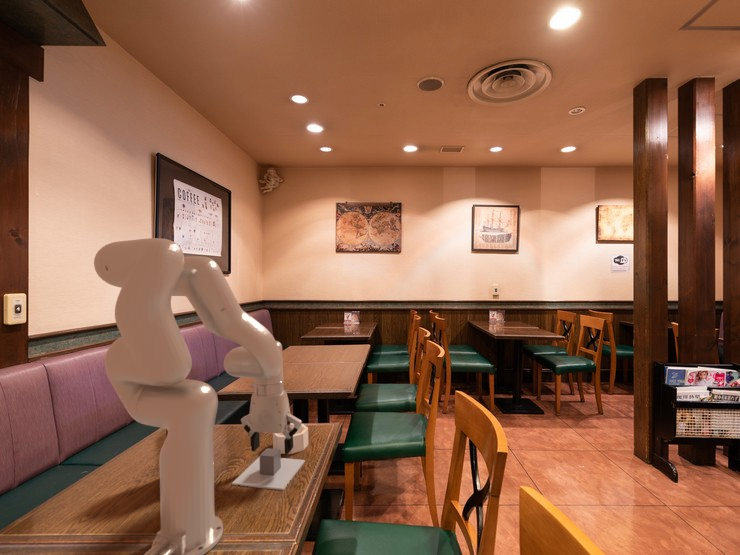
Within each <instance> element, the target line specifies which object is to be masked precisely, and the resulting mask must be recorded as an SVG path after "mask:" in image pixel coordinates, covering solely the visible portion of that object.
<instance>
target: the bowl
mask: <svg viewBox="0 0 740 555" xmlns="http://www.w3.org/2000/svg"><path fill="white" fill-rule="evenodd" d="M290 427H291V428H292V429H293V428H294V424H293V423H290ZM285 439H286V437H285V436H284V434H283V433H278V434H277V433H272V449H281V454H283V455H286V454H285V443H284V440H285ZM308 446H309V427H308V426H306V425H305V424H304V423H301V425H300V427H299V430H298V431H297V432H296V433H295V434H294V435H293V449H292V450H291V451H290V452H289V453H288V454H287V455H293V454H297V453H300V452H303V451H305V449H306V448H307V447H308Z"/></svg>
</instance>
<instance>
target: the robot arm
mask: <svg viewBox="0 0 740 555" xmlns="http://www.w3.org/2000/svg"><path fill="white" fill-rule="evenodd" d="M93 266H94V270H95V272H96V274H97V275H98V277H99V278H100V279H101V280H102V281H103V282H105V283H106V284H108V285H111V286H113V287H118V288H120V291H119V294H118V296H117V299H116V302H115V308H114V320H115V323H116V326H117V329H118V330H119V333H120V335H121V336H120V337H118V338H117V339H115V340H114V341H113V342H112V344H110V346H109V347H108V348H107V351H106V353H105V357H104V368H105V369H104V370H105V374H106V377H107V379H108V380H109V382H110V385H112V387H113V389H114V392H115V393H116V395H117V396H118V398H119V400H120V401H121V403H122V405H123V407H124V409H125V410H126V411H127V413H128V414H129V416H130V417H131V418H132V419H133V420H135V421H136V423H139V424H142V425H145V426H150V427H155V428H161V429H165V430H166V429H167V430H168V434H167V437H165V440H164V441H163V444H162V446H161V449H160V452H159V458H158V459H159V460H158V461H159V463H158V464H159V468H158V469H159V502H160V504H159V506H160V508H159V510H160V512H159V513H160V514H159V515H160V530H159V531H157V532H156V536H155V538H154V539H153V541H152V543H151V548H150V549H148V550H147V551H146V552H145V553H144V554H143V555H205V554H207V553H208V552H210V550H212V549H213V548H214V547H215V546H216V545H217V544H218V543H219V542H220V540H221V538H222V536H223V533H224V523H223V521H222V519H221V518H220V517H218V516H216V515H215V514H216V513H215V468H214V466H215V464H214V462H215V461H214V460H215V459H214V432H215V423H216V417H217V413H218V406H219V398H218V394H217V392H216V389H214V388H213V386H211V385H210V384H209V383H207V382H204V381H202V380H196V379H189V378H187V377H188V376H189V374H190V372H191V370H192V368H193V367H192V366H193V360H192V356H191V353H190V350H189V347H188V345H187V342H186V341H185V339H184V336H183V334H182V332H181V330H180V326H179V325H178V324H177V321H176V318H175V315H174V313H173V309H172V297H185V298H186V299H188V301H189V303H190V305H191V306H192V308H193V309H194V311H195V312H196V314H197V315H198V317H199V319H200V321H201V322H202V324H203V326H204V327H205V329H206V330H207V331H209V332H210V333H212V334H214V335H216V336H218V337H220V338H223V339H225V340H228V341H230V342H232V343H235V344H237V345H239V346H237V347H234V348H232V349H231V350H230V351H228V352H227V354H226V355H225V356H224V358H223V359H224V360H223V369H224V370H225V372H226V373H227V374H228V375H230V376H232V377H235V378H241V379H253V380H254V381H253V382H251V383H250V388H253V390H254V392H252V394H251V399H250V406H249V413H248V414H247V415H244V416H243V417H242V418H241V419H240V421H241V424H242V426H243V429H244V431H246V432H247V436H249V438H250V439H249V441H250V447H251V452H256V450H257V449H258V448H260V446H261V441H260V440H261V439H260V433H263V434H273V433H277V434H278V433H283V434H284V436H285V437H286V439H285V440H284V443H285V454H284V455H289V454H288V453H289V452H290V451H291V450H292V449H293V435H294V434H295V433H296V432H297V431H298V430H299V427H300V425H301V424H303V421H302V420H301V419H300V418H298V417H296V416H295V415H292V414H291V409H290V408H291V407H290V403H289V402H290V401H289V397H288V393H287V391H286V390H285V386H284V385H285V383H284V382H285V381H284V360H283V357H284V356H283V355H284V354H283V345H282V343H281V342H280V340H279V341H278V340H276V339H275V337H274V335H273V334H272V333H271V331H270V330H268V328H267V327H265V326H264V325H263V324H261V323H260V322H259V321H258V320H257V319H256V318H254V317H253V316H252V315H250V314H248V313H247V312H246V311H244V310H243V309H242V307H241V305H240V303H239V302H238V300H237V298H236V296H235V294H234V291H233V290H232V289H231V286H230V284H229V283H228V280H227V279H226V277H225V275H224V273H223V271H222V269H221V267H220V266H219V264H218V263H217V262H216V261H215V260H214V259H212V258H210V257H207V256H200V255H199V256H198V255H196V256H195V255H194V256H192V255H191V256H185V255H184V252H183V249H182V247H181V246H180V245H179V244H178V243H176V242H175V241H173V240H170V239H168V238H163V237H162V238H160V237H158V238H157V237H156V238H154V237H153V238H152V237H150V238H149V237H148V238H139V239H129V240H121V241H120V240H119V241H111V242H110V243H108V244H105V245H104V246H102V247H101V248H100V249H99V250H98V251H97V252H96V254H95V256H94V258H93ZM290 423H293V424H294V428H293V429H292V428H291V427H290Z"/></svg>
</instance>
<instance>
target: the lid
mask: <svg viewBox="0 0 740 555" xmlns="http://www.w3.org/2000/svg"><path fill="white" fill-rule="evenodd" d="M305 462H306V460H305V459H298V458H297V459H296V458H288V457H287V458H285V457H282V456H281V449H273V448H270V447H267V448H265V449H264V450H263V451H262V452H261V453H260V454H259V456H258V457H257V458H256V459H255V460H254V461H253V462H252V463H251V464H250V465H249V466H248V467H247V468H246V469H245V470H244V471H242V473H241V474H239V476H238V477H236V478H235V479H234V480H233V481H232V482H231V485H232V486H238V485H240V487H241V486H242V487H247V486H248V488H249V487H250V488H256V489H257V488H258V489H267V490H276V491H285V489H286V487H287V486H288V485H289V484H290V482H291V481H292V479H293V478H294V477H295V476H296V474H297V473H298V471H299V470H301V468H302V467H303V465H304V464H305ZM290 480H291V481H290ZM287 484H288V485H287Z"/></svg>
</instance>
